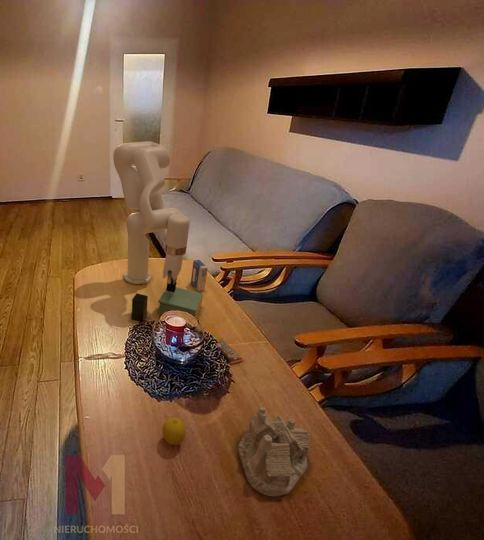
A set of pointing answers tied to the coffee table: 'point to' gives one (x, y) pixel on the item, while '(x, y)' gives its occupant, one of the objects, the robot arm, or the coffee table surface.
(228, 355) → the chocolate bar
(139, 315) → the iron block
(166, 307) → the green shallow box
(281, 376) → the coffee table surface
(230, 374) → the coffee table surface
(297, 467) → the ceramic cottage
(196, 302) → the lid
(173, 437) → the lemon
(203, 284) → the walkman
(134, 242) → the robot arm
